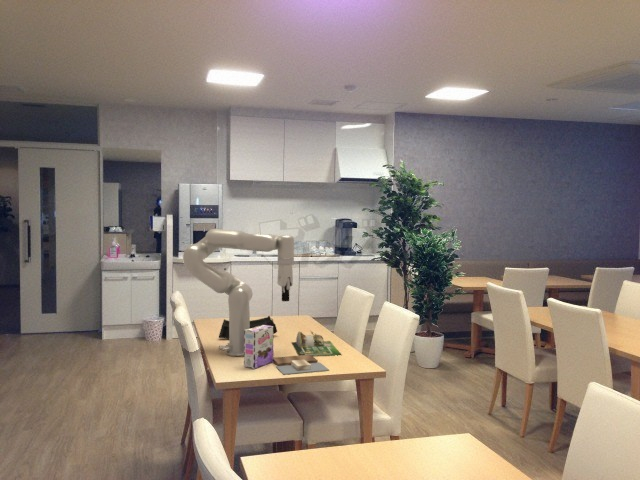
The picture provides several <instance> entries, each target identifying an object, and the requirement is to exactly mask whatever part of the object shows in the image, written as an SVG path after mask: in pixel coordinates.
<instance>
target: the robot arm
mask: <svg viewBox="0 0 640 480" xmlns="http://www.w3.org/2000/svg"><path fill="white" fill-rule="evenodd" d="M222 248H223V249H233V250H240V251H241V250H244V251H253V252H254V251H255V252H265V253H268V252H269V253H270V252H272V251H275V250H277V265H278V266H277V267H278V269H277V283H276V284H277V285H278V286H280V287H281V301H282V302H289V301H290V290H291V287H292V286H293V284H294V283H293V282H294V281H293V280H294V277H293V276H294V275H293V273H294V272H293V266H294V264H295V262H294V261H295V237H294V236H293V235H291V234H289V235H288V234H287V235H286V234H282V235H277V234H267V235H265V234H254V233H248V232H245V231H242V230H232V229H221V228H212V229H209V230H208V231H206V233H205V236H204V237H203V238H202V239H200V240H199V241H198V242H196V243H192V244H190V245H188V246H186V248H185V249H184V251H183V255H182V261H183V265H184V268H185V269H186V270H187V272H188V273H189V274H190V275H191V276H192V277H194V278H195V279H197V280H198V281H200V282H201V283H202V284H204V285H205V286H207V287H208V288H210V289H211V290H213V291H214V292H215V293H217V294H225V295H227V296H228V297H227V298H228V301H227V302H228V316H229V317H228V321H229V339H228V342H227V344H225V345H219V346H218V350H219V351H225V354H226V355H227V356H231V357H244V330H246V329H250V321H251V320H250V317H251V316H250V315H251V313H250V310H251V309H250V301H251V300H252V298H253V295H254V294H253V290H252V288H251V287H250V286H249V285H248V284H247V283H245V282H244V281H243V280H241V279H240V278H238V277H236V276H235V275H233V274H232V273H230V272H228V271H219V270H217V269H216V268H214V267H213V266H212V265H210V264H208V263H206V262H205V261H204V260H206V259H207V258H208V257H209V256H211V254H213V253H215V252H216V251H217V250H218V249H222Z"/></svg>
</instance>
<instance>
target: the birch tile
mask: <svg viewBox="0 0 640 480" xmlns="http://www.w3.org/2000/svg"><path fill="white" fill-rule="evenodd" d="M291 366H293V367H294V368H295V369H296V370H297V371H301V370H311V364H309V363H308V362H307V361H306V360H293V361H291Z"/></svg>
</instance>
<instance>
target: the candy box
mask: <svg viewBox="0 0 640 480" xmlns="http://www.w3.org/2000/svg"><path fill="white" fill-rule="evenodd" d="M273 358H274V334H273V326H268V325H261V326H258V327H254V328H250V329H246V330H244V356H243V367H244V368H248V369H251V370H256V369H259V368H261V367H265V366H267V365H269V364H273V363H274V362H273Z"/></svg>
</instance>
